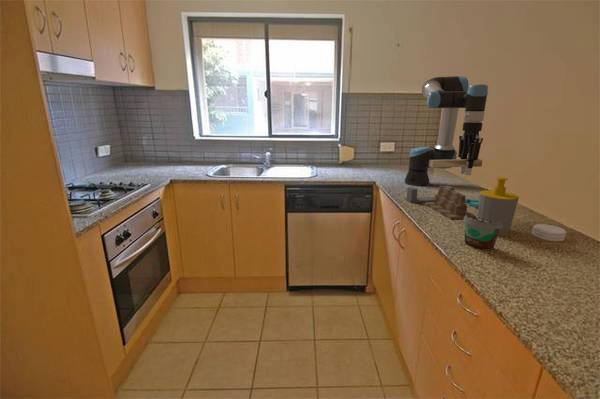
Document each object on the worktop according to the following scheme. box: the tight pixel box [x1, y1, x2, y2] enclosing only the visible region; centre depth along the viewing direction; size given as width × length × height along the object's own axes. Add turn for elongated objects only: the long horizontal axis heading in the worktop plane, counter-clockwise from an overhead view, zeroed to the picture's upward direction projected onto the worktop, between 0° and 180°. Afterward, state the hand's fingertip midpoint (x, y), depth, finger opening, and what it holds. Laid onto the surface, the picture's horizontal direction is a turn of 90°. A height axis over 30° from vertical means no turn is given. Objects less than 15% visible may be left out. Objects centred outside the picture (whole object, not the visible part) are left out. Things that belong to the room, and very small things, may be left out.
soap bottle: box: [476, 176, 520, 236], centre depth 122 cm, size 13×13×21 cm
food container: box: [462, 214, 503, 251], centre depth 108 cm, size 12×6×10 cm, turn 45°
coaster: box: [531, 223, 567, 242], centre depth 118 cm, size 10×10×4 cm
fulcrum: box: [424, 185, 477, 220], centre depth 146 cm, size 22×12×10 cm, turn 7°
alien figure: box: [465, 197, 479, 209], centre depth 157 cm, size 20×2×20 cm
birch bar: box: [429, 158, 483, 169], centre depth 141 cm, size 3×24×3 cm, turn 97°
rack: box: [404, 185, 455, 204], centre depth 163 cm, size 6×24×7 cm, turn 97°
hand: (465, 174), depth 143 cm, fingers closed on birch bar, 3 cm apart
